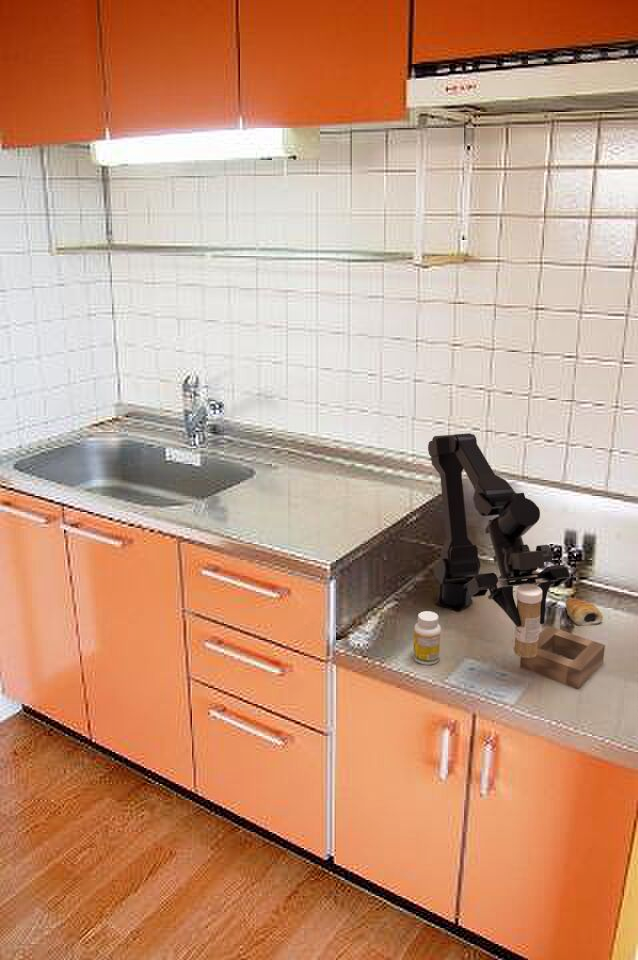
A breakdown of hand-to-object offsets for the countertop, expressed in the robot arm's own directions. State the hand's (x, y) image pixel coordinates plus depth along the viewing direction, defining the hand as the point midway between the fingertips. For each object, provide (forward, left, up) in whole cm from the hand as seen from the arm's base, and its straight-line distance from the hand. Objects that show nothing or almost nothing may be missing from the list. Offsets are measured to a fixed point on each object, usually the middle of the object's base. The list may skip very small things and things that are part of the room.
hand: (531, 625), depth 145 cm
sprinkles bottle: (-1, +1, -7) cm, 7 cm away
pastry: (-3, +33, -14) cm, 36 cm away
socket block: (+2, +12, -13) cm, 18 cm away
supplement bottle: (-20, -3, -13) cm, 24 cm away
